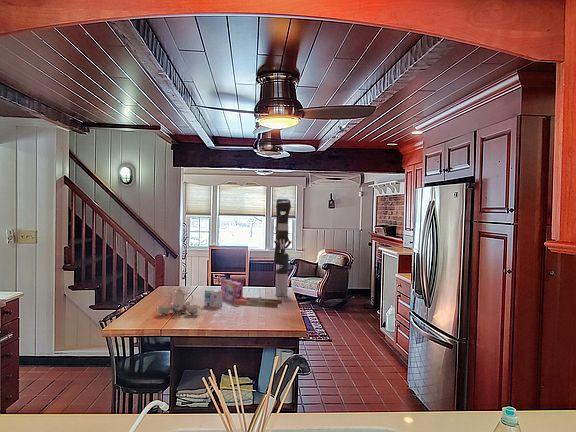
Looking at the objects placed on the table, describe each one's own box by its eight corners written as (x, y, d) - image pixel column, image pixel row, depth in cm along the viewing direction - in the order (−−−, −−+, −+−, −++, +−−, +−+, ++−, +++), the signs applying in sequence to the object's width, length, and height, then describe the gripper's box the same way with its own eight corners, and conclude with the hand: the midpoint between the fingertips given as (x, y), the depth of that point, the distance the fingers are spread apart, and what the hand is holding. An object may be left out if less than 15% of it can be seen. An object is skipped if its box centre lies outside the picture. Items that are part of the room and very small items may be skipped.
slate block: (252, 302, 320) (252, 295, 320) (260, 303, 318) (260, 296, 318) (249, 304, 314) (249, 297, 314) (258, 305, 312) (258, 297, 312)
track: (241, 302, 327) (241, 296, 327) (282, 305, 319) (283, 299, 319) (234, 305, 313) (234, 300, 313) (277, 309, 305) (277, 303, 305)
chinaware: (155, 320, 276) (155, 293, 275) (156, 311, 293) (156, 286, 291) (202, 318, 283) (202, 292, 281) (200, 309, 299) (201, 285, 297)
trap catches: (240, 301, 325) (240, 296, 325) (251, 301, 323) (251, 297, 323) (234, 304, 315) (234, 299, 314) (246, 304, 312) (246, 300, 312)
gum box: (243, 301, 329) (244, 282, 329) (233, 302, 325) (234, 283, 325) (229, 296, 349) (230, 278, 349) (220, 296, 345) (220, 279, 345)
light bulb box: (204, 305, 312) (204, 290, 312) (210, 304, 318) (210, 288, 318) (216, 307, 307) (217, 291, 307) (222, 305, 313) (222, 290, 313)
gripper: (293, 229, 327) (292, 254, 327) (275, 229, 330) (275, 253, 330) (290, 230, 319) (290, 255, 319) (272, 229, 323) (272, 254, 323)
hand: (282, 254), depth 325 cm, fingers closed
